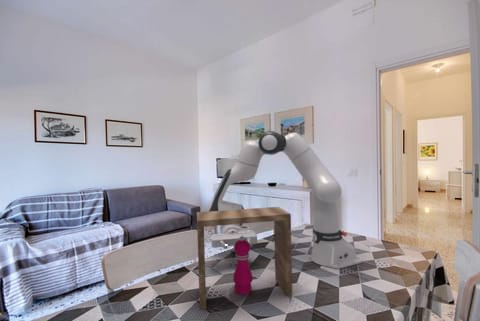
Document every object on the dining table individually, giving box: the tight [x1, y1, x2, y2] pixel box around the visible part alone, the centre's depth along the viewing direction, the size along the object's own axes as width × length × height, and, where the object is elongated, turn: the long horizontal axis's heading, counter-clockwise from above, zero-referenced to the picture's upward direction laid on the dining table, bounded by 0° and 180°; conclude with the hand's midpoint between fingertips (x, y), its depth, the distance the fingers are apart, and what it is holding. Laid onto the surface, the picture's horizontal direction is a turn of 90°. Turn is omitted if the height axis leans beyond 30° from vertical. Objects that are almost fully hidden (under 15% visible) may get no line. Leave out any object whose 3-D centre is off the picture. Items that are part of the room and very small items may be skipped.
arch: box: [196, 206, 293, 310], centre depth 87 cm, size 32×12×29 cm, turn 101°
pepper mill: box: [232, 236, 254, 295], centre depth 89 cm, size 7×7×20 cm
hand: (237, 245), depth 99 cm, fingers open, 8 cm apart
